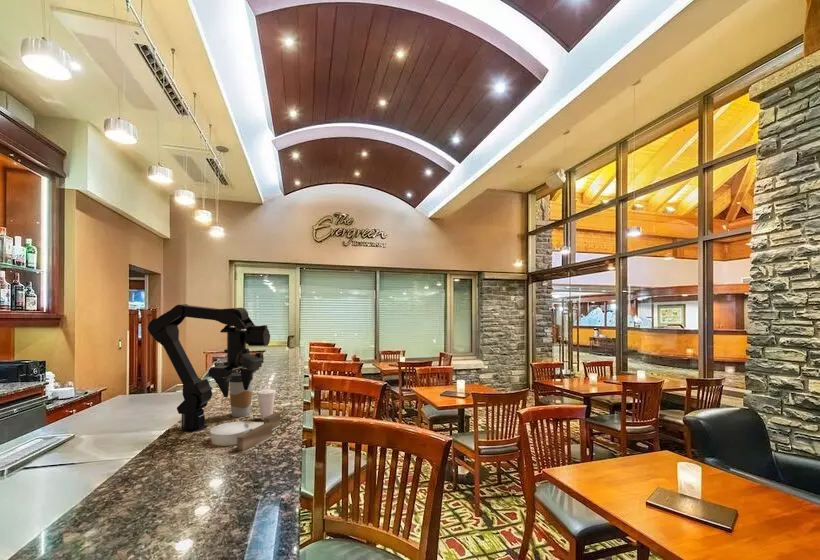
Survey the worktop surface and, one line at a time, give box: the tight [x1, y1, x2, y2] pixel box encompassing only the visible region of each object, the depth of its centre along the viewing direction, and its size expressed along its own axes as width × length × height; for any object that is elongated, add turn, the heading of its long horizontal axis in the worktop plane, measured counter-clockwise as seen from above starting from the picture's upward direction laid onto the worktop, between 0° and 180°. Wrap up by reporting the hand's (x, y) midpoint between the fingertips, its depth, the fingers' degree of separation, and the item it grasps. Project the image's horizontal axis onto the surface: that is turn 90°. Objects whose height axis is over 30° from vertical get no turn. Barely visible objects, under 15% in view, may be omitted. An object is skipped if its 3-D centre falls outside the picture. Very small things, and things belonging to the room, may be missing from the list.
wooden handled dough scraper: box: [236, 423, 273, 452], centre depth 124 cm, size 16×13×4 cm
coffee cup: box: [229, 371, 254, 418], centre depth 151 cm, size 8×8×15 cm
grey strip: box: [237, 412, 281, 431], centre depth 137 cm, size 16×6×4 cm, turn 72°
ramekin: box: [209, 421, 251, 447], centre depth 124 cm, size 11×11×5 cm
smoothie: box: [256, 378, 277, 421], centre depth 147 cm, size 6×6×14 cm
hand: (236, 393), depth 135 cm, fingers open, 9 cm apart
